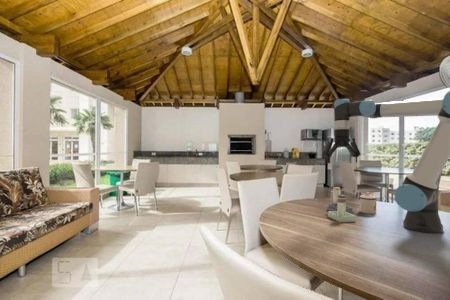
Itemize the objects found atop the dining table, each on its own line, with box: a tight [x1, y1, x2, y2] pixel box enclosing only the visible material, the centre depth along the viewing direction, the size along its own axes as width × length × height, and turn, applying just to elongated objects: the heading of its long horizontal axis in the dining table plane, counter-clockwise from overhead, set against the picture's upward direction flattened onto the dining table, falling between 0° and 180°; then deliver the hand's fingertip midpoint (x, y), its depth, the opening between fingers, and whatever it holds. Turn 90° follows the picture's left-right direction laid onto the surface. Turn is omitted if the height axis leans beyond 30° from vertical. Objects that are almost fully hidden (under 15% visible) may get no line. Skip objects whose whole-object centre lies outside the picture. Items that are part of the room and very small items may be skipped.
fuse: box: [332, 186, 341, 205], centre depth 162 cm, size 4×4×12 cm
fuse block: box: [326, 202, 355, 215], centre depth 158 cm, size 14×8×4 cm, turn 9°
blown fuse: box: [337, 194, 347, 216], centre depth 143 cm, size 4×4×12 cm
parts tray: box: [327, 210, 357, 223], centre depth 143 cm, size 11×9×3 cm
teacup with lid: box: [359, 191, 377, 215], centre depth 160 cm, size 12×9×12 cm
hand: (341, 169), depth 143 cm, fingers open, 13 cm apart
